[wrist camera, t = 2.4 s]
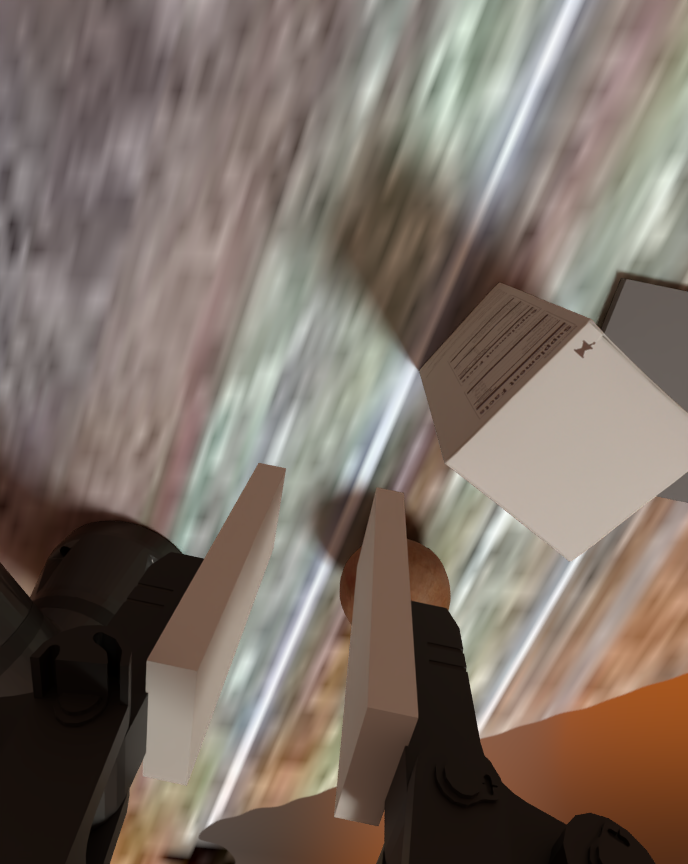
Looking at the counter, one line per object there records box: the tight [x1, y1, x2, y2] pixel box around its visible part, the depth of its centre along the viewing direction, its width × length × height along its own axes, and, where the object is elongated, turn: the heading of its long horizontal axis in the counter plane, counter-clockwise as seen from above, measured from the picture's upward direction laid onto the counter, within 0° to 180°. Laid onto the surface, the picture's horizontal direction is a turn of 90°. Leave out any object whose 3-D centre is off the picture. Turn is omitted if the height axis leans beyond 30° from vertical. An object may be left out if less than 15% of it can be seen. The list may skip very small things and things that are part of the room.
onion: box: [340, 539, 450, 625], centre depth 41 cm, size 10×9×10 cm
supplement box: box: [419, 283, 688, 561], centre depth 30 cm, size 10×9×17 cm
